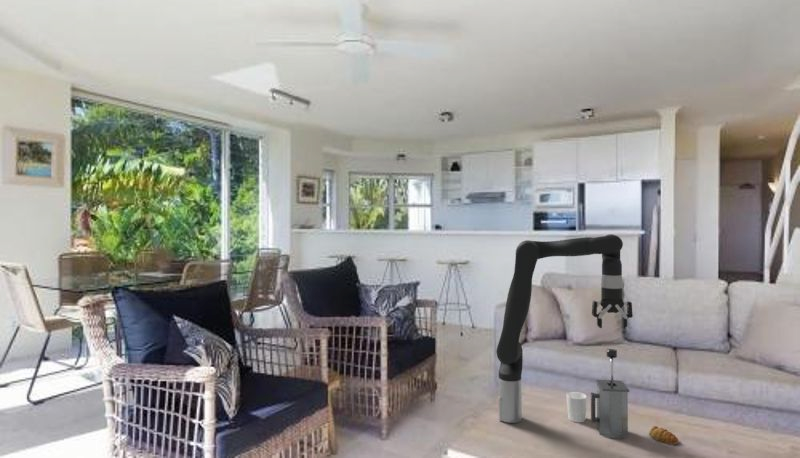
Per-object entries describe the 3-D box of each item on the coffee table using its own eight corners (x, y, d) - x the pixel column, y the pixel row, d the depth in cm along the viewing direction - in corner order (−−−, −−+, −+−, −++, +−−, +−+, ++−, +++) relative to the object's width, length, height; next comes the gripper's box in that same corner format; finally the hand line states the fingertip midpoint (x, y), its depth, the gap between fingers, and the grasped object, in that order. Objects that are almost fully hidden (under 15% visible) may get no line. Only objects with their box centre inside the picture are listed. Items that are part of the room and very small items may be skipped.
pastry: (682, 442, 173) (682, 432, 173) (672, 447, 170) (672, 437, 170) (656, 433, 181) (656, 423, 181) (647, 437, 178) (646, 427, 178)
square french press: (594, 437, 178) (594, 388, 178) (588, 425, 188) (588, 379, 187) (630, 439, 176) (630, 389, 175) (622, 427, 186) (621, 380, 185)
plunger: (603, 392, 178) (603, 352, 178) (598, 385, 186) (598, 347, 185) (626, 393, 177) (625, 353, 176) (619, 386, 185) (619, 347, 184)
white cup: (583, 415, 198) (583, 391, 198) (589, 423, 190) (589, 399, 190) (564, 414, 199) (564, 391, 198) (569, 423, 191) (569, 398, 191)
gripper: (594, 287, 178) (595, 329, 179) (634, 288, 176) (634, 330, 177) (590, 284, 186) (590, 325, 186) (628, 285, 184) (628, 326, 184)
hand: (611, 328), depth 181 cm, fingers open, 8 cm apart
